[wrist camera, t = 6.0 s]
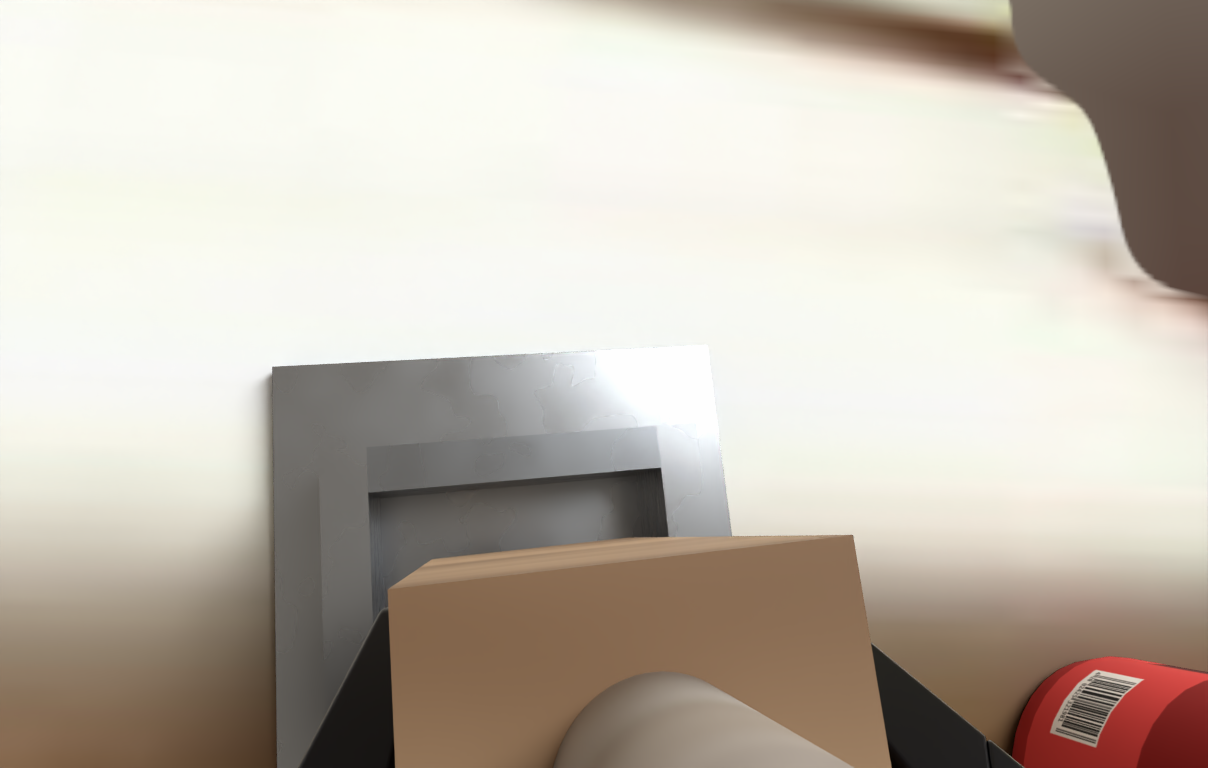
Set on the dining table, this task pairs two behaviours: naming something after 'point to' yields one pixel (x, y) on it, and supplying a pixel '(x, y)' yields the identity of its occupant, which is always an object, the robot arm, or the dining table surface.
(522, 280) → the dining table surface
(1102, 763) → the canned food
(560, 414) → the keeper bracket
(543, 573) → the knobbed wooden block
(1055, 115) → the dining table surface
